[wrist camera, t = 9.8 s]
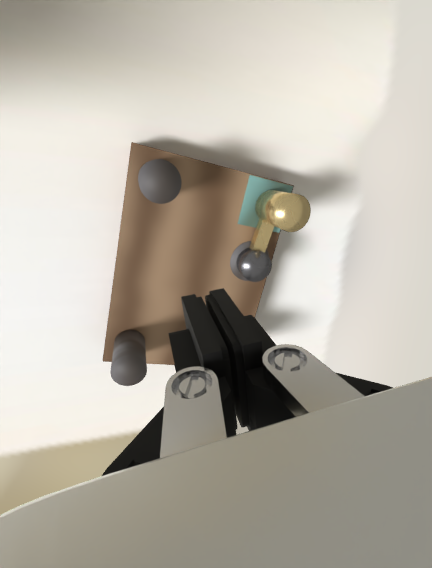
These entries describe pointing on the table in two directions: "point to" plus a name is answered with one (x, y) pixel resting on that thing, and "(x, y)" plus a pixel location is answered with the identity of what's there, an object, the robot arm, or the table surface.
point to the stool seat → (177, 252)
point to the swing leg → (271, 229)
